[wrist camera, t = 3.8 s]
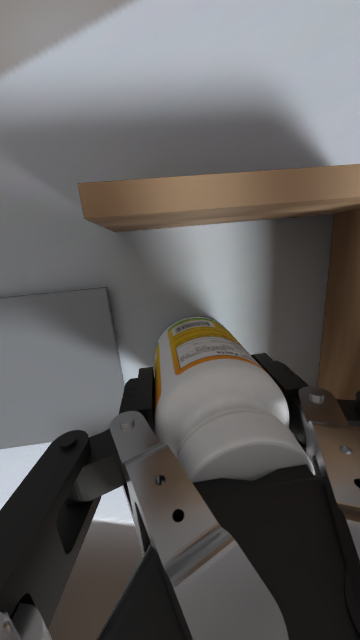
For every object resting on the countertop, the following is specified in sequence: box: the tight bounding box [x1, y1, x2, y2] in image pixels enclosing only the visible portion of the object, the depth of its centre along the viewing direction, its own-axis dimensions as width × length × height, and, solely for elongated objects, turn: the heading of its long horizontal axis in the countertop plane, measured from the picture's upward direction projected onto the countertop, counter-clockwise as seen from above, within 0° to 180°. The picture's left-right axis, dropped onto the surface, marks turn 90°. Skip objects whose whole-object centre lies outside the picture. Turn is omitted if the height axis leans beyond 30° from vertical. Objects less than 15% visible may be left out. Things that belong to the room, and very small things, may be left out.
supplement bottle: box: [154, 317, 315, 483], centre depth 11 cm, size 5×5×10 cm
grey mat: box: [0, 287, 125, 449], centre depth 15 cm, size 10×10×1 cm
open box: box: [78, 164, 360, 437], centre depth 13 cm, size 14×18×6 cm
